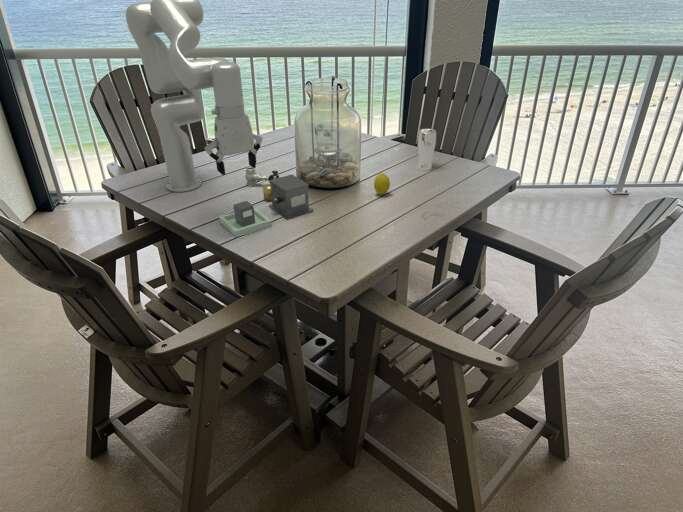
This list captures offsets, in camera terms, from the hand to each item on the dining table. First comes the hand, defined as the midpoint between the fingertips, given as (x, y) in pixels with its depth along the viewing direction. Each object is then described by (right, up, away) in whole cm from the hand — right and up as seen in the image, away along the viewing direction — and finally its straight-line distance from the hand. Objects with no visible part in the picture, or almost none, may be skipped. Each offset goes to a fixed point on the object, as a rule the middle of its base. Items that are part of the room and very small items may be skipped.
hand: (237, 169), depth 133 cm
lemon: (+45, -4, +28) cm, 53 cm away
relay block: (+1, -15, +9) cm, 17 cm away
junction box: (+14, -10, +18) cm, 25 cm away
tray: (0, -15, +9) cm, 18 cm away
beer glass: (+64, +10, +50) cm, 82 cm away
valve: (+1, +1, +35) cm, 35 cm away
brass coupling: (+6, -6, +25) cm, 26 cm away
